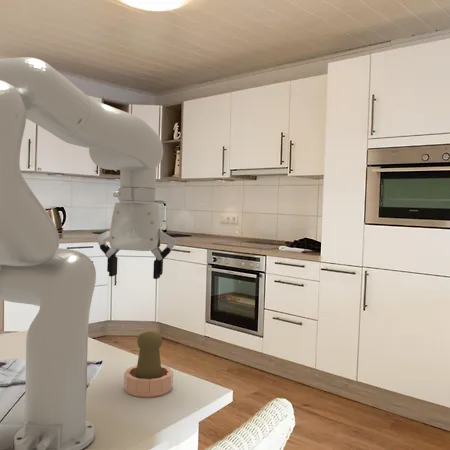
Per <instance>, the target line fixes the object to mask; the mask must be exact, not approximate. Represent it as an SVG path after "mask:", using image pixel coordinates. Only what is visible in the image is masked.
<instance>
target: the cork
mask: <svg viewBox="0 0 450 450" xmlns="http://www.w3.org/2000/svg"><path fill="white" fill-rule="evenodd" d="M136 342H137V346H138V348H139V353H138V357H137V370H136V376H135V377H136V378H139V379H154V378H160V377H162V371H161V365H162V364H161V363H162V362H161V354H160V352H161V351H160V348H161V347H162V344H163V338H162V336H161V334H160V333H158V332H156V331H145V332H144V331H143V332H142V333H140V334H139V335H138V337H137V341H136Z"/></svg>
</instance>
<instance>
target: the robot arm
mask: <svg viewBox="0 0 450 450" xmlns="http://www.w3.org/2000/svg"><path fill="white" fill-rule="evenodd" d="M27 120H28V121H30V122H32V123H33V124H35V125H36V126H39V127H41V129H44V130H45V131H47V132H48V133H51V134H52V135H53V136H54V137H56V138H58V139H59V140H61V141H63V142H65V143H67V144H70V145H73V146H76V147H77V146H78V147H83V148H87V149H88V154H89V157H90V159H91V162H93V163H94V165H96V166H97V167H99V168H100V169H103V170H108V171H109V170H111V171H112V170H113V171H120V172H119V173H120V177H119V178H120V180H119V187H118V190H113V192H112V193H113V194H112V195H113V198H117V199H118V201H119V202H115V203H114V206H113V207H114V208H113V212H112V215H111V223H110V229H109V230H107V231H104V232H102V233H100V234H98V235H96V237H95V239H96V241H97V244H98V246H99V249H100V250H101V252H103V254H104V255H105V257H106V258H107V269H106V272H107V273H108V276H109V277H110V278H111V277H114V276H116V275H117V274H118V256H117V254H118V252H120V251H136V252H138V251H139V252H151V253H152V254H153V256H154V258H155V260H154V261H153V271H152V272H153V275H152V277H153V278H152V279H154V280H158V279H160V278H161V275H163V270H164V259H165V258H166V257H167V256H168V255H169V254H170V253H172V250H173V249H174V247H175V245H176V243H177V239H176V238H174V237H172V236H170V235H168V234H167V233H165V232H164V231H162V230H161V228H162V227H161V215H160V209H159V204H157V203H156V191H157V190H156V187H157V186H156V184H157V167H158V166H159V165H160V164H161V162H162V160H163V157H164V147H163V143H162V140H161V137H160V136H159V135H158V133H157V132H156V131H155V130H154V129H153V128H152V127H151V126H150V125H149V124H148V123H147V122H146V121H145V120H143V118H142V119H141V118H140V117H139V116H136V115H134V114H132V113H130V112H127V111H124V110H121V109H119V108H116V107H114V106H111V105H108V104H105V103H103V102H100V101H96V100H94V99H92V98H91V97H89V96H88V95H87V94H86V93H85V92H83V91H82V90H81V89H79V88H78V87H77V86H76V85H75V84H74V83H72V82H71V81H70V80H69V79H67V77H65V76H64V75H63V74H62V73H60V72H59V71H58V70H56V69H55V68H54V67H53V66H51V65H50V64H49V63H48V62H46V61H44V60H42V59H39V58H37V57H27V56H20V57H7V58H0V300H2V301H5V302H10V303H17V304H24V305H33V306H37V307H39V310H38V312H37V313H36V315H35V317H34V319H33V320H32V321H31V324H30V325H29V328H28V330H27V334H26V339H25V341H26V343H25V390H24V391H25V394H24V396H25V400H24V426H23V427H21V428H19V430H18V431H17V432H16V433H15V434H14V437H13V447H14V450H84V449H85V448H86V447H88V446H89V445H90V444H91V443H92V442H93V441H94V439H95V437H96V428H95V425H94V424H93V423H92V422H91V421H90V420H89V419H86V418H87V416H86V415H87V385H88V384H87V383H88V380H87V379H88V354H89V353H88V350H89V349H88V346H89V345H88V343H89V342H88V341H89V340H88V339H89V319H90V313H91V305H92V300H93V295H94V290H95V286H96V280H97V270H96V267H95V264H94V263H93V260H92V259H91V258H89V257H88V255H86V254H84V253H83V252H80V251H78V250H74V249H68V248H63V247H62V248H60V235H59V231H58V229H57V226H56V224H55V222H54V221H53V219H52V217H50V215H49V214H48V212H47V211H46V209H45V207H44V206H43V204H41V202H40V201H39V199H38V198H37V196H36V194H35V193H34V192H33V191H32V189H31V187H30V186H29V184H28V183H27V181H26V179H25V178H24V175H23V174H22V170H21V166H20V165H21V164H20V163H21V162H20V161H21V160H20V159H21V148H22V143H23V138H24V134H25V130H26V129H25V128H26V122H27ZM108 238H109V245H108V244H107V241H106V239H108ZM162 240H163V241H164V242H166V243H167V244H166V247H164V249H163V250H161V248H160V247H161V241H162Z"/></svg>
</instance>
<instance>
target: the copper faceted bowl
mask: <svg viewBox="0 0 450 450" xmlns="http://www.w3.org/2000/svg"><path fill="white" fill-rule="evenodd" d="M136 370H137V365H133V366H131V367H128V368H127V369H126V370H125V371H124V372H123V373H124V374H123V385H124V391H125V393H126V394H128V395H129V396H133V397H136V398H145V399H147V398H149V399H150V398H157V397H162V396H165V395H167V394H168V393H169V394H170V392H171V391H172V389H173V383H174V370H172V368H171V367H169V366H165V365H162V364H161V371H162V377H160V378H154V379H139V378H136V377H135V376H136Z"/></svg>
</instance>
